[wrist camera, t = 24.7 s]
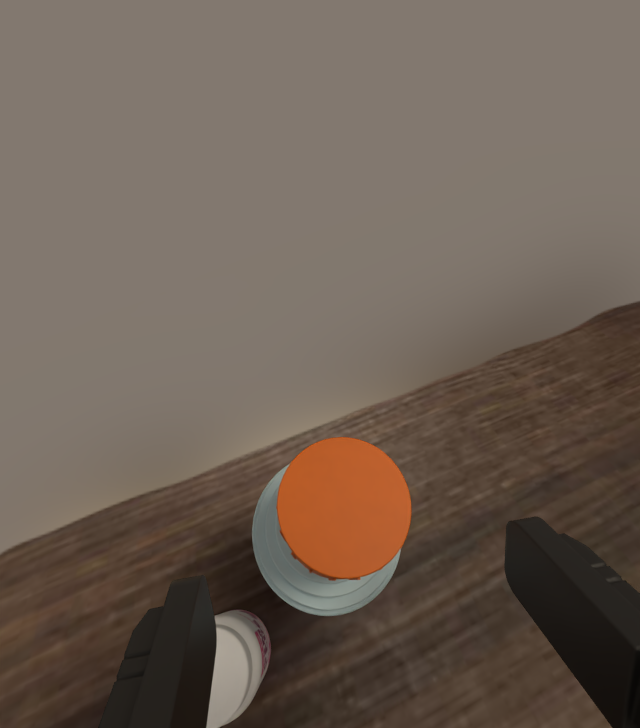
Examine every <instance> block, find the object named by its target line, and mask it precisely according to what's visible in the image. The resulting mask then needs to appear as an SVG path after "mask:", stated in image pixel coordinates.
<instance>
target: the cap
mask: <svg viewBox="0 0 640 728" xmlns="http://www.w3.org/2000/svg"><path fill="white" fill-rule="evenodd" d="M276 509H277V515H278V521H279V525H280V528H281V530H279V531H280V534H281V535H282V537H283V539H284V540H285V541H286V542H287V544H288V546H289V548H290V549H291V551H292V552H291V555H292V556H293V558H294V559H295V560H296V559H297V560H298V561H299V562H300V563H301V564H302V565H303V566H304V567H305V568H307V569H308V570H309V573H312V572H313V573H315V574H317V575H319V576H322V577H325V578H329V579H328V580H329V581H336V579H349V580H360V577H363V576H367V575H369V574H372V573H374V572H376V571H378V570H381V569H383V567H384V566H385V565H387V564H388V563H389V562H390V561H391V560H392V559H393V558H394V557H395V556H396V554H397V553H398V552H399V550H400V549H401V547H402V546H403V543H404V541H405V539H406V537H407V534H408V531H409V527H410V522H411V499H410V494H409V490H408V487H407V484H406V481H405V479H404V477H403V475H402V473H401V472H400V470H399V468H398V467H397V466H396V464H395V463H394V462H393V461H392V460H391V459H390V458H389V457H388V456H387V455H386V454H385V453H384V452H383V451H381V450H380V449H379V448H377V447H375V446H374V445H372V444H370V443H367V442H365V441H362V440H359V439H354V438H348V437H337V438H330V439H325V440H322V441H319V442H316V443H314V444H312V445H311V446H309V447H307V448H306V449H304V450H303V451H302V452H301V453H300V454H298V455H297V456H296V457H295V459H294V460H293V461H292V462H291V463H290V465H289V466H288V468H287V469H286V471H285V473H284V475H283V477H282V480H281V483H280V486H279V490H278V496H277V506H276Z"/></svg>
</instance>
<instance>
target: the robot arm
mask: <svg viewBox="0 0 640 728" xmlns="http://www.w3.org/2000/svg"><path fill="white" fill-rule="evenodd" d="M505 574H506V578H507V581H508V583H509V586H510V588H511V590H512V591H513V593H514V594H515V596H516V597H517V598H518V600H519V601H520V603H521V604H522V605H523V607H524V608H525V609H526V611H527V612H528V613H529V615H530V616H531V617H532V619H533V620H534V622H535V623H536V624H537V626H538V627H539V628H540V630H541V631H542V632H543V634H544V635H545V636H546V638H547V639H548V641H549V642H550V643H551V645H552V646H553V647H554V649H555V650H556V651H557V653H558V654H559V655H560V657H561V658H562V660H563V661H564V662H565V664H566V665H567V666H568V668H569V669H570V670H571V672H572V673H573V675H574V676H575V677H576V679H577V680H578V681H579V683H580V684H581V685H582V687H583V688H584V689H585V691H586V692H587V694H588V695H589V696H590V698H591V699H592V700H593V702H594V703H595V704H596V706H597V707H598V708H599V710H600V711H601V713H602V714H603V715H604V717H605V718H606V719H607V721H608V722H609V723H610V725H611V726H612V727H613V728H640V593H638V592H637V591H636V590H635V589H634V588H633V587H632V586H631V585H630V584H628V583H627V582H626V581H623V580H622V579H621V576H620V575H618V574H617V573H616V572H615V571H614V570H613V569H612V568H611V567H610V566H606V564H605V562H604V561H603V560H602V559H601V558H600V557H598V556H597V555H596V554H595V553H594V552H593V551H592V550H591V549H590V548H588V547H587V546H586V545H584V544H582V543H580V542H579V541H577V540H575V539H573V538H571V537H570V536H568V535H566V534H557V533H556V532H555V531H554V530H553V529H552V528H551V527H550V526H549V525H548V524H547V523H546V522H545V521H544V520H542V519H541V518H539V517H531V518H525V519H519V520H514V521H509V522H508V524H507V527H506V546H505ZM216 646H217V632H216V622H215V617H214V613H213V608H212V603H211V599H210V594H209V590H208V585H207V581H206V578H205V576H204V575H201V576H195V577H189V578H184V579H178V580H173V581H172V582H171V584H170V587H169V591H168V594H167V597H166V601H165V604H164V606H163V607H158V608H152V609H149V610H148V612H147V613H146V614H145V616H144V617H143V618H142V620H141V621H140V622H139V624H138V625H137V626H136V628H135V629H134V630H133V633H132V635H131V638H130V641H129V644H128V646H127V649H126V652H125V655H124V660H122V663H121V666H120V669H119V671H118V674H117V681H116V682H115V683H114V685H113V688H112V691H111V694H110V697H109V699H108V702H107V705H106V708H105V710H104V713H103V716H102V719H101V722H100V724H99V727H98V728H206V726H207V718H208V710H209V703H210V695H211V687H212V679H213V672H214V664H215V656H216Z"/></svg>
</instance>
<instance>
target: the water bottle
mask: <svg viewBox="0 0 640 728" xmlns="http://www.w3.org/2000/svg"><path fill="white" fill-rule="evenodd" d="M289 465H290V464H289ZM289 465H287V466H286V467H284V468H283V469H282V470H280V471H279V472H278V473H277V474H276V475H275V476H274V477H273V478H272V480H271V481H270V482H269V483H268V485H267V486H266V488H265V489H264V491H263V493H262V495H261V497H260V499H259V501H258V504H257V506H256V509H255V514H254V518H253V526H252V542H253V550H254V554H255V558H256V562H257V564H258V567H259V569H260V571H261V573H262V575H263V577H264V579H265V580H266V582H267V583H268V585H269V586H270V587H271V589H272V590H273V591H274V592H275V593H276V594H277V595H278V596H279V597H280V598H281V599H282V600H284V601H285V602H286V603H288V604H289V605H291V606H293V607H295V608H296V609H298V610H301V611H303V612H306V613H309V614H314V615H319V616H336V615H343V614H346V613H350V612H353V611H355V610H357V609H359V608H361V607H363V606H365V605H366V604H368V603H369V602H371V601H372V600H373V599H374V598H375V597H376V596H377V595H379V594H380V592H381V591H382V590H383V589H384V588H385V586H386V585H387V583H388V582H389V580H390V579H391V577H392V575H393V573H394V571H395V569H396V566H397V563H398V560H399V557H400V551H401V549H400V550H399V552H398V553H397V554H396V556H395V557H394V558H393V559H392V560H391V561H390V562H389V563H388V564H387V565H385V566H384V567H383V569H381V570H378V571H376V572H374V573H372V574H369V575H367V576H363V577H360V580H349V579H336V581H329V580H328V579H329V578H325V577H322V576H319V575H317V574H315V573H313V572H312V573H309V570H308V569H307V568H305V567H304V566H303V565H302V564H301V563H300V562H299V561H298V560H297V559H296V560H295V559H294V558H293V556H292V555H291V552H292V551H291V549H290V548H289V546H288V544H287V542H286V541H285V540H284V539H283V537H282V535H281V534H280V531H279V530H281V528H280V525H279V521H278V515H277V509H276V506H277V496H278V490H279V486H280V483H281V480H282V477H283V475H284V473H285V471H286V469H287V468H288V466H289Z"/></svg>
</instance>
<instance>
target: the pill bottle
mask: <svg viewBox="0 0 640 728" xmlns="http://www.w3.org/2000/svg"><path fill="white" fill-rule="evenodd" d="M214 617H215V622H216V632H217V646H216V656H215V664H214V672H213V679H212V687H211V695H210V703H209V710H208V718H207V726H206V728H220V727H221V726H223V725H226V724H228V723H230V722H231V721H233V720H235V719H236V718H237V717H239V716H240V715H241V714H242V713H243V712H244V711H245V709H246V708H247V707H248V706H249V704H250V703H251V701H252V700H253V698H254V696H255V694H256V692H257V690H258V688H259V686H260V684H261V682H262V680H263V678H264V676H265V674H266V671H267V668H268V665H269V661H270V655H271V643H270V638H269V634H268V631H267V629H266V627H265V625H264V624H263V622H262V621H261V620H260V619H259V618H258V617H257V616H256V615H255V614H253V613H251V612H249V611H246V610H239V609H238V610H230V611H227V612H224V613H221V614H218V615H215V616H214Z"/></svg>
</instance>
